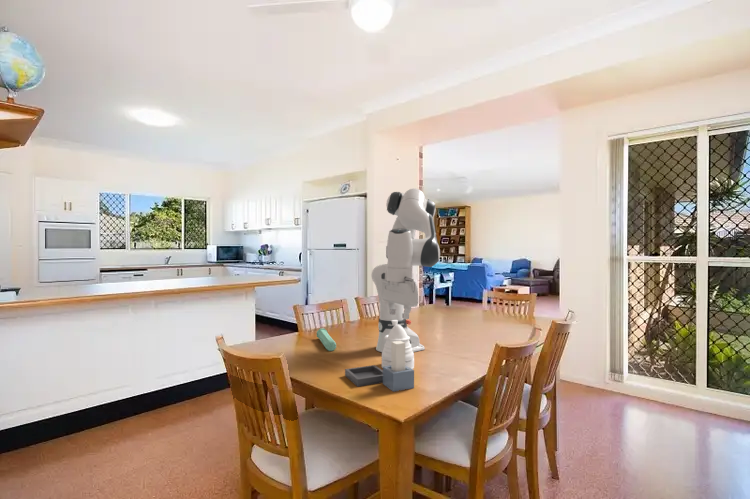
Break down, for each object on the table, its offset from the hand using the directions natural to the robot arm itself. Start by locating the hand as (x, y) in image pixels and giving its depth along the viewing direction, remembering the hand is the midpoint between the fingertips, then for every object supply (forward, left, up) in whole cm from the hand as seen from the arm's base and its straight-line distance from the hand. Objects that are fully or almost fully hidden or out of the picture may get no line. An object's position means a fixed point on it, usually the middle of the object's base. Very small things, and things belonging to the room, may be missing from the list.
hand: (398, 316), depth 135 cm
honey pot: (-10, -19, -24) cm, 32 cm away
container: (+6, -63, -24) cm, 68 cm away
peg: (0, 0, -24) cm, 24 cm away
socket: (0, 0, -24) cm, 24 cm away
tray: (+7, -11, -24) cm, 27 cm away
